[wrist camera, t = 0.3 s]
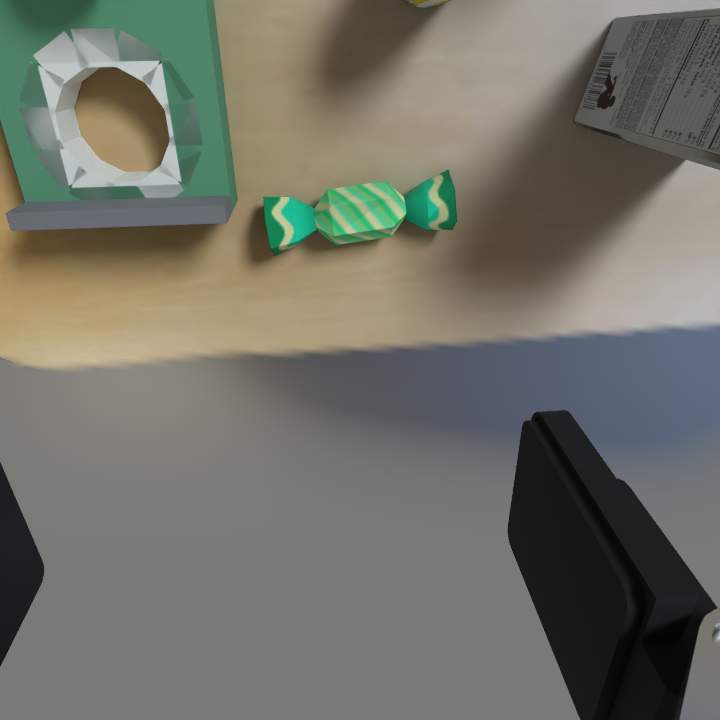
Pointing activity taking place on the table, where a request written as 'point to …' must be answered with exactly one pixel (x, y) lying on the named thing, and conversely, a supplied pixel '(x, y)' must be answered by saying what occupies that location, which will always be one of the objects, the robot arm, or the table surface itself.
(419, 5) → the supplement bottle
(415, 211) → the candy
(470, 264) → the table surface
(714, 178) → the table surface
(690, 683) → the robot arm
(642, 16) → the coffee box
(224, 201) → the board
